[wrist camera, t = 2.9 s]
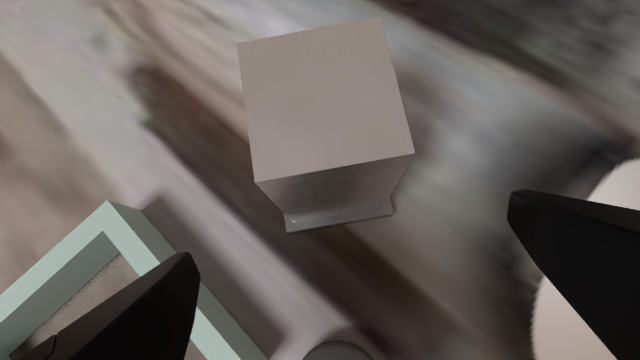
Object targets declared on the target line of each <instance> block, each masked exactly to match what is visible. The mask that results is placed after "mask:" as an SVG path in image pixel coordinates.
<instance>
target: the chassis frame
mask: <svg viewBox="0 0 640 360" xmlns="http://www.w3.org/2000/svg"><path fill="white" fill-rule="evenodd" d="M120 252H121V254H122V255H123V256H124V257H125V259H126V260H127V261H128V262H129V263H130V265H131V266H132V267H133V268H134V270H135V271H136V272H137V273H138V275H139V276H140V277H141V276H142V275H144V274H145V273H147V272H148V271H150V270H151V269H153V268H154V267H156V266H157V265H159V264H160V263H162V262H163V261H165V260H166V259H168V258H169V257H171V256H172V255H174V254H177V252H176V251H175V250H174V249H173V248H172V246H171V245H170V244H169V243H168V242H167V241H166V239H165V238H164V237H163V236H162V235H161V234H160V232H159V231H158V230H157V229H156V228H155V227H154V225H153V224H152V223H151V222H150V221H149V220H148V218H147V217H146V216H145V215H144V214H143V213H142V211H140V210H137V209H134V208H131V207H128V206H125V205H122V204H118V203H115V202H112V201H109V200H107V201H106V202H104V203H103V204H102V205H101V206H100V207H99V208H98V209H97V210H95V211H94V212H93V213H92V214H91V215H90V216H89V217H88V218H86V219H85V220H84V221H83V222H82V223H81V224H80V225H79V226H78V227H76V228H75V229H74V230H73V231H72V232H71V233H70V234H69V235H67V236H66V237H65V238H64V239H63V240H62V241H61V242H60V243H58V244H57V245H56V246H55V247H54V248H53V249H52V250H51V251H49V252H48V253H47V254H46V255H45V256H44V257H43V258H42V259H40V260H39V261H38V262H37V263H36V264H35V265H34V266H33V267H32V268H30V269H29V270H28V271H27V272H26V273H25V274H24V275H23V276H21V277H20V278H19V279H18V280H17V281H16V282H15V283H14V284H12V285H11V286H10V287H9V288H8V289H7V290H6V291H5V292H3V293H2V294H1V295H0V360H11V358H10V357H9V355H10V354H11V353H12V352H13V351H14V350H15V349H16V348H17V347H18V346H19V345H21V344H22V343H23V342H24V341H25V340H26V339H27V338H28V337H29V336H30V335H31V334H33V333H34V332H35V331H36V330H37V329H38V328H39V327H40V326H41V325H42V324H43V323H44V322H46V321H47V320H48V319H49V318H50V317H51V316H52V315H53V314H54V313H55V312H56V311H57V310H59V309H60V308H61V307H62V306H63V305H64V304H65V303H66V302H67V301H68V300H69V299H71V298H72V297H73V296H74V295H75V294H76V293H77V292H78V291H79V290H80V289H81V288H82V287H84V286H85V285H86V284H87V283H88V282H89V281H90V280H91V279H92V278H93V277H94V276H95V275H97V274H98V273H99V272H100V271H101V270H102V269H103V268H104V267H105V266H106V265H107V264H108V263H110V262H111V261H112V260H113V259H114V258H115V257H116V256H117V255H118V254H119V253H120ZM190 339H191V340H192V341H193V342H194V344H195V345H196V346H197V347H198V348H199V350H200V351H201V352H202V353H203V355H204V356H205V357H206V358H207V360H269V359H268V358H267V357H266V356H265V355H264V354H263V352H262V351H261V350H260V349H259V348H258V347H257V345H256V344H255V343H254V342H253V341H252V340H251V338H250V337H249V336H248V335H247V334H246V333H245V331H244V330H243V329H242V328H241V327H240V326H239V324H238V323H237V322H236V321H235V320H234V319H233V317H232V316H231V315H230V314H229V313H228V312H227V310H226V309H225V308H224V307H223V306H222V305H221V304H220V302H219V301H218V300H217V299H216V298H215V297H214V295H213V294H212V293H211V292H210V291H209V290H208V288H207V287H206V286H205V285H204V284H203V283H202V281H201V280H200V288H199V294H198V301H197V307H196V313H195V319H194V324H193V329H192V332H191V336H190Z"/></svg>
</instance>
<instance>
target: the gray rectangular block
mask: <svg viewBox="0 0 640 360" xmlns="http://www.w3.org/2000/svg"><path fill="white" fill-rule="evenodd" d="M237 48H238V56H239V64H240V72H241V79H242V87H243V95H244V102H245V110H246V118H247V125H248V133H249V141H250V148H251V156H252V164H253V171H254V179H255V183H256V184H257V185H258V186H259V187H260V188H261V189H262V190H263V191H264V193H265V194H266V195H267V196H268V197H269V198H270V199H271V200H272V201H273V202H274V203H275V204H276V205H277V206H278V207H279V208H280V209H281V210H282V211H283V212H284V219H285V225H286V232H287V233H288V234H295V233H300V232H306V231H311V230H317V229H322V228H328V227H333V226H339V225H344V224H350V223H356V222H361V221H367V220H372V219H378V218H383V217H389V216H392V215H393V214H394V212H393V208H392V203H391V199H390V195H391V193H392V192H393V190H394V188H395V187H396V185H397V183H398V182H399V180H400V178H401V176H402V175H403V173H404V171H405V170H406V168H407V166H408V165H409V163H410V161H411V159H412V158H413V156H414V154H415V150H414V146H413V142H412V138H411V134H410V130H409V126H408V122H407V119H406V115H405V111H404V107H403V103H402V99H401V95H400V91H399V87H398V83H397V79H396V75H395V71H394V67H393V63H392V59H391V55H390V52H389V48H388V44H387V40H386V36H385V32H384V28H383V24H382V20H381V16H380V17H375V18H369V19H364V20H359V21H354V22H348V23H343V24H338V25H332V26H327V27H322V28H317V29H311V30H306V31H301V32H295V33H290V34H285V35H280V36H274V37H269V38H264V39H258V40H253V41H248V42H243V43H237Z"/></svg>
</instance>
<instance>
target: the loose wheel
mask: <svg viewBox="0 0 640 360" xmlns="http://www.w3.org/2000/svg"><path fill="white" fill-rule="evenodd" d="M303 360H373V359H372V358H371V357H370V356H369V355H368V354H367V353H366V352H365V351H364V350H363V349H361V348H360V347H358V346H356V345H355V344H352V343H349V342H345V341H329V342H325V343H322V344H320V345H318V346H316V347H315V348H313V349H312V350H311V351H310V352H309V353H308V354H307V355H306V356H305V357H304V358H303Z"/></svg>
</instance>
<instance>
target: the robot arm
mask: <svg viewBox="0 0 640 360" xmlns="http://www.w3.org/2000/svg"><path fill="white" fill-rule="evenodd" d="M507 220H508V223H509V225H510V227H511V228H512V230H513V231H514V233H515V234H516V236H517V237H518V239H519V240H520V242H521V243H522V245H523V246H524V248H525V249H526V251H527V252H528V254H529V255H530V257H531V258H532V260H533V261H534V262H535V264H536V265H537V266H538V267H539V269H540V270H541V271H542V272H543V273H544V275H545V276H546V277H547V278H548V279H549V280H550V282H551V283H552V284H553V285H554V286H555V287H556V289H557V290H558V291H559V292H560V293H561V294H562V296H563V297H564V298H565V299H566V300H567V301H568V302H569V304H570V305H571V306H572V307H573V308H574V310H575V311H576V312H577V313H578V314H579V315H580V317H581V318H582V319H583V320H584V321H585V322H586V324H587V325H588V326H589V327H590V328H591V329H592V331H593V332H594V333H595V334H596V335H597V336H598V338H599V339H600V340H601V341H602V342H603V343H604V345H605V346H606V347H607V348H608V349H609V350H610V352H611V353H612V354H613V355H614V356H615V357H616V359H617V360H640V211H639V210H634V209H629V208H623V207H618V206H613V205H607V204H602V203H597V202H592V201H586V200H581V199H576V198H570V197H565V196H560V195H555V194H549V193H544V192H539V191H533V190H528V189H523V190H518V191H513V192H512V193H511V194H510V196H509V203H508V212H507ZM199 288H200V273H199V271H198V269H197V266H196V264H195V262H194V260H193V258H192V256H191V254H190V253H189V252H182V253H177V254H174V255H172V256H171V257H169V258H168V259H166V260H165V261H163V262H162V263H160V264H159V265H157V266H156V267H154V268H153V269H151V270H150V271H148V272H147V273H145V274H144V275H142V276H141V277H139V278H138V279H136V280H135V281H134V282H132V283H131V284H129V285H128V286H126V287H125V288H123V289H122V290H120V291H119V292H117V293H116V294H114V295H113V296H111V297H110V298H108V299H107V300H105V301H104V302H102V303H101V304H99V305H98V306H96V307H95V308H93V309H92V310H91V311H89V312H88V313H86V314H85V315H83V316H82V317H80V318H79V319H77V320H76V321H74V322H73V323H71V324H70V325H68V326H67V327H65V328H64V329H62V330H61V331H59V332H58V333H57V335H53V336H51V337H50V338H48V339H47V340H45V341H44V342H42V343H41V344H39V345H38V346H36V347H35V348H33V349H32V350H30V351H29V352H27V353H25V354H24V355H22V356H21V357H19V358H18V359H16V360H184V357H185V353H186V350H187V346H188V343H189V339H190V336H191V332H192V329H193V324H194V319H195V313H196V307H197V301H198V294H199Z"/></svg>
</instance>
